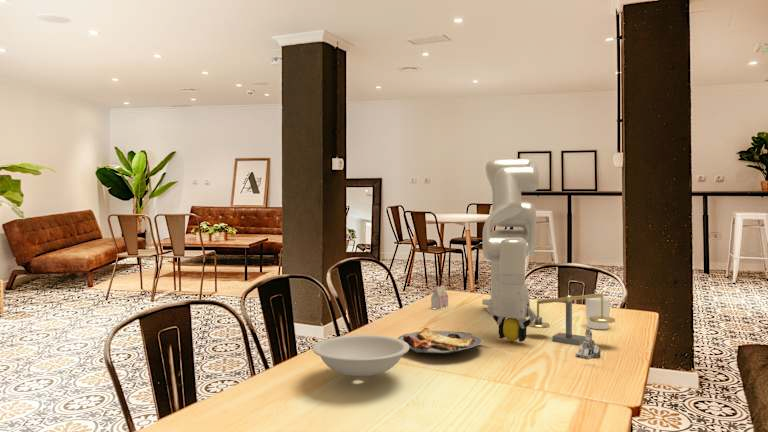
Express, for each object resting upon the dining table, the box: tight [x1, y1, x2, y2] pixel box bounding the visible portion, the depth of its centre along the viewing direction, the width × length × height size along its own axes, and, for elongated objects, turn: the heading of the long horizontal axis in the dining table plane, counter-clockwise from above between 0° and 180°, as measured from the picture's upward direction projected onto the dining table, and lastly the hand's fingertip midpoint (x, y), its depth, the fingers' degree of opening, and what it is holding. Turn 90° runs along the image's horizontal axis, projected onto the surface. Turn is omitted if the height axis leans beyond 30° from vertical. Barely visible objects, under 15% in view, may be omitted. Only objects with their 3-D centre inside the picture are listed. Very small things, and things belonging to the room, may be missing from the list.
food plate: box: [397, 327, 483, 355], centre depth 157 cm, size 25×23×4 cm
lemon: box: [503, 318, 520, 343], centre depth 161 cm, size 6×6×8 cm
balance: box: [527, 292, 616, 346], centre depth 162 cm, size 27×7×16 cm, turn 51°
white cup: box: [584, 296, 611, 330], centre depth 181 cm, size 8×8×10 cm
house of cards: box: [575, 328, 602, 360], centre depth 144 cm, size 9×9×8 cm
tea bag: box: [430, 285, 449, 310], centre depth 210 cm, size 4×7×10 cm, turn 143°
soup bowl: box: [312, 334, 410, 377], centre depth 132 cm, size 24×24×7 cm
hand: (512, 338), depth 161 cm, fingers closed on lemon, 5 cm apart
